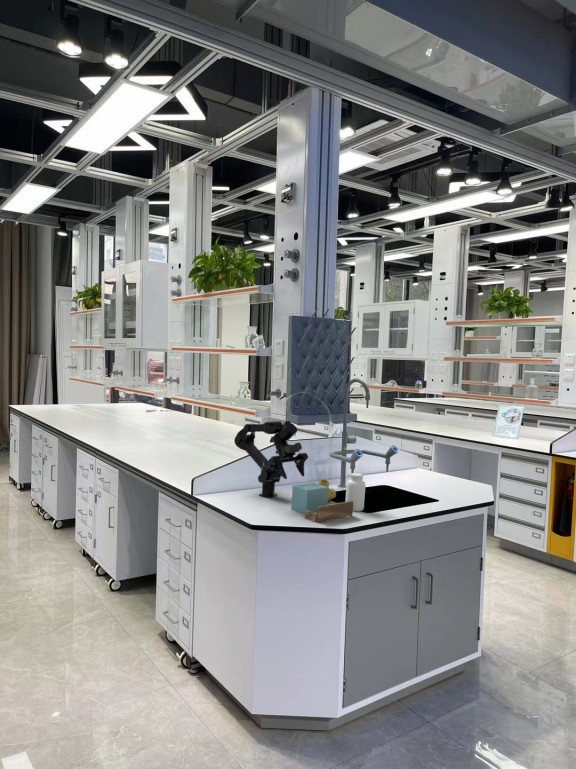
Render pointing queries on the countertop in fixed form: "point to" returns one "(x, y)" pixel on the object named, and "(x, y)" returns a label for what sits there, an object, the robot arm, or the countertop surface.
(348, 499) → the pill bottle
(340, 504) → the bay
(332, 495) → the ball valve
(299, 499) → the crate
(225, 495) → the countertop surface
